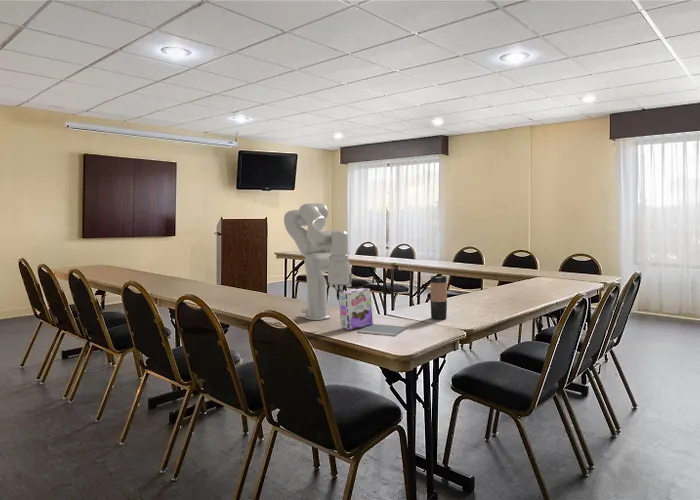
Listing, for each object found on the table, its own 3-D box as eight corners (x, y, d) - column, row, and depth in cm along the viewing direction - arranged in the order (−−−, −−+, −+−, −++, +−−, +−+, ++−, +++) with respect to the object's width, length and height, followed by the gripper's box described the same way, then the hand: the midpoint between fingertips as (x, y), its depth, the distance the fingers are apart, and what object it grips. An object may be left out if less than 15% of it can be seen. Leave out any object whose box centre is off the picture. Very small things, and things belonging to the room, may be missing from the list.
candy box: (348, 330, 215) (345, 292, 214) (340, 328, 219) (337, 291, 219) (373, 324, 223) (370, 288, 222) (365, 323, 227) (362, 287, 227)
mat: (357, 332, 212) (357, 330, 212) (372, 324, 226) (372, 323, 226) (395, 336, 205) (395, 334, 205) (408, 327, 219) (408, 326, 219)
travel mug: (449, 319, 235) (449, 277, 234) (435, 320, 233) (435, 278, 231) (442, 316, 242) (442, 275, 241) (427, 317, 240) (427, 276, 238)
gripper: (320, 259, 222) (321, 299, 224) (351, 259, 216) (351, 301, 217) (329, 257, 229) (329, 297, 230) (358, 258, 222) (359, 299, 224)
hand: (340, 299), depth 224 cm, fingers closed
